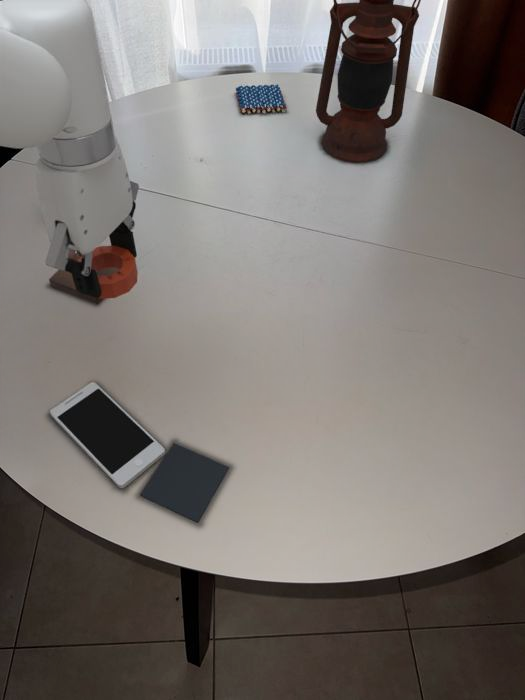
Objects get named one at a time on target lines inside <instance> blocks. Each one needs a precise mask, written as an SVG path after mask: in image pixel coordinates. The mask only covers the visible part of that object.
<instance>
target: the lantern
mask: <svg viewBox="0 0 525 700" xmlns="http://www.w3.org/2000/svg"><path fill="white" fill-rule="evenodd" d="M421 1H422V0H413V2H412V4H411V6H409V5H401V4H397V3H394V2H395V0H359V1H358V2H340V3H338V1H337V0H333V1H332V2H333V5H332V6H331V8H330V10H329V17H330V28H329V33H328V39H327V43H326V50H325V54H324V55H325V56H324V60H323V61H324V62H323V66H322V71H321V72H322V73H321V79H320V83H319V90H318V94H317V95H318V96H317V101H316V105H315V106H316V107H315V114H316V117H317V119H318V120H319V122H320V123H322V124H323V125H325V126H326V128H325V129H326V130H325V132H324V133H323V134H322V137H321V141H320V144H321V146H322V149H323V150H324V151H325V153H326V154H327V155H329V156H331V157H332V158H334V159H337V160H339V161H342V162H346V163H353V164H362V163H363V164H365V163H371V162H375V161H377V160H378V159H380V158H383V156H384V155H385V153H386V152H387V150H388V142H387V140H386V137H387V130H388V129H389V128H392V127H394V126H395V125H396V124H397V123H398V122H399V121H400V120H401V118H402V117H403V111H404V103H405V96H406V89H407V82H408V76H409V66H410V60H411V53H412V45H413V39H414V38H413V37H414V31H415V26H416V25H417V23H418V22H417V21H418V20H419V17H420V13H419V7H420V4H421ZM415 5H416V6H415ZM352 17H354V19H353V20H352V21H351V22H350V23H349V24H348V26H347V27H348V30H349V31H350V32H351V33H352V34H351V35H350V36H348V37H347V35H346V33H345V32H344V29H343V27H344V24H345V22H346V21H347V20H349V19H350V18H352ZM393 19H395V20H397V21H398V22H399V23H400V25H401V31H400V34H399V36H398V37H397V38H396V39H395V40H394V41H392V40H391V39H390V37H393V36H394V35H395V34H396V33H397V28H396V26H395V25H394V22H393ZM341 37H343V38H344V40H343V41H342V43H341ZM399 40H400V41H399ZM398 41H399V48H398V47H397V45H396V43H398ZM340 43H341V46H340ZM339 48H340V52H341V54H342V57H341V59H340V63H339V68H338V70H337V74H336V75H337V76H336V79H337V100H338V102H339V106H340V110H339V111H337V112H336V113H334V114H333V115H330V114H329V113H328V105H329V100H330V95H331V90H332V84H333V79H334V74H335V69H336V63H337V58H338V52H339ZM397 53H398V56H397ZM396 57H397V63H396V64H397V65H396V73H395V80H394V81H395V82H394V88H393V96H392V97H393V98H392V103H391V104H392V106H391V112H390V113H391V114H390V115H389V116H388V117H386V118H382V117H381V116H380V115H379V112H380V110H381V107H383V105H384V104H385V103H386V99H387V96H388V95H389V91H390V89H391V86H392V82H393V75H394V59H395V58H396Z"/></svg>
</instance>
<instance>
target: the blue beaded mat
mask: <svg viewBox="0 0 525 700" xmlns="http://www.w3.org/2000/svg"><path fill="white" fill-rule="evenodd" d="M235 94H236V97H237V98H236V99H237V103H238V107H239V112H241V113H243V114H245V113H246V112H247V114H248V115H250V114H251V113H258V114H260V113H262V114H266V111H267V112H271V111H272V113H273V114H275V112H276V111H277V112H280V111H281V112H282V113H285V112H286V110H285V109H287V104H286V103H285V100H284V96H283V94H282V90H281V87H280V85H279V84H273V83H272V84H259V85H254V84H252V85H245V86H244V85H239V86H238V87H235Z"/></svg>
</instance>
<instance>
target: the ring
mask: <svg viewBox="0 0 525 700" xmlns="http://www.w3.org/2000/svg"><path fill="white" fill-rule="evenodd" d="M81 259H82V256H81V257H80V258H79V259H78V261H79V262H81ZM104 268H118V269H120V270H119V271H118V272H117V273H114V274H112V275H109V276H98V275H97V277H98V281H99V284H100V288H101V292H102V293H101V294H102V295H101V296H100V297H99V299H102V300H103V299H117V298H118V297H121V296H122V295H125V294H127V293H129V292H130V291H131V290H132V289H134V287H135V286H136V284H137V283H138V266H137V262H136V257H134V256H133V255H132V254H131V253H130V252H129V250H127V249H124V248H121V247H118V246H111V245H99V246H98V247H97V248H95V249H94V250H93V254H92V266H91V269H94V270H95V271H96V273H97V272H98V271H100V270H102V269H104Z"/></svg>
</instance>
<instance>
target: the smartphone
mask: <svg viewBox="0 0 525 700" xmlns="http://www.w3.org/2000/svg"><path fill="white" fill-rule="evenodd" d="M49 414H50V415H51V418H52V419H53V420H54V421H55V422H56V423H57V424H58V425H59V426H60V427H61V428H62V429H63V430H64V431H65V432H66V433H67V434H68V435H69V436H70V438H71V439H72V440H73V441H74V442H75V443H76V444H77V445H78V446H79V447H80V448H81V449H82V450H83V451H84V452H85V453H86V455H88V456H89V457H90V459H91V460H92V461H93V462H94V463H96V465H97V466H98V467H99V468H100V470H102V471H103V472H104V473H105V474H106V475H107V477H109V479H110V480H112V482H114V484H115V485H116V486H117V487H118V488H120V489H125V488H126V487H127V486H128V485H130V484H131V483H132V482H133V481H135V479H137V478H138V477H139V476H141V475H142V474H143V473H144V472H146V471H147V470H148V469H149V468H150V467H152V466H153V465H155V464H156V463H157V462H158V461H159V460H160V459H162V458H164V457H165V455H166V450H165V449H166V448H164V446H163V445H162V444H160V442H159V441H157V439H155V438H154V437H153V436H152V435H151V434H150V433H149V432H148V431H147V430H146V429H145V428H143V427H142V425H140V423H139V422H138V421H136V420H135V419H134V418H133V417H132V416H131V415H130V414H129V413H128V412H127V411H126V410H125V409H124V408H123V407H121V406H120V405H119V404H118V403H117V402H116V401H115V400H114V399H113V398H112V397H111V396H110V395H109V394H108V393H107V392H106V391H105V390H104V389H103V388H102V387H100V386H99V385H98V383H96V382H95V381H91V382H90V383H88V384H87V385H86V386H84V387H82V388H81V389H79V390H78V391H77V392H75V393H74V394H72V395H71V396H70V397H68V398H66V399H65V400H63V401H62V402H60V403H59V404H58V405H56V406H55V407H53V408H52V409H50V410H49Z"/></svg>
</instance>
